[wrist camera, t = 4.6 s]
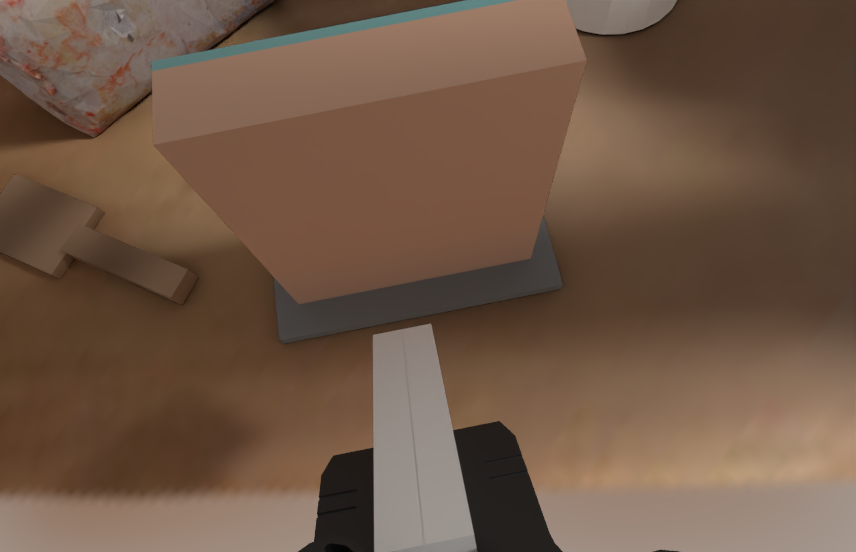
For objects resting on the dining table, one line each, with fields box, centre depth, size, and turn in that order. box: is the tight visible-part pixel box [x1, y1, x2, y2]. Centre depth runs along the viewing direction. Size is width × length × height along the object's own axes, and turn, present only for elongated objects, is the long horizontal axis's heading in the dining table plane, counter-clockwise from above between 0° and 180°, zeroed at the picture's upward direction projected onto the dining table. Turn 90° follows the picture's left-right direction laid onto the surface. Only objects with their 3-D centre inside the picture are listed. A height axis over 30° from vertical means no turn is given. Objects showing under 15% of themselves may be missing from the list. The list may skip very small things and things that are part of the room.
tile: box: [152, 0, 587, 304], centre depth 19 cm, size 2×10×12 cm, turn 101°
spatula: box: [0, 174, 199, 305], centre depth 26 cm, size 11×4×1 cm, turn 67°
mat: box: [251, 0, 563, 344], centre depth 27 cm, size 16×12×1 cm
